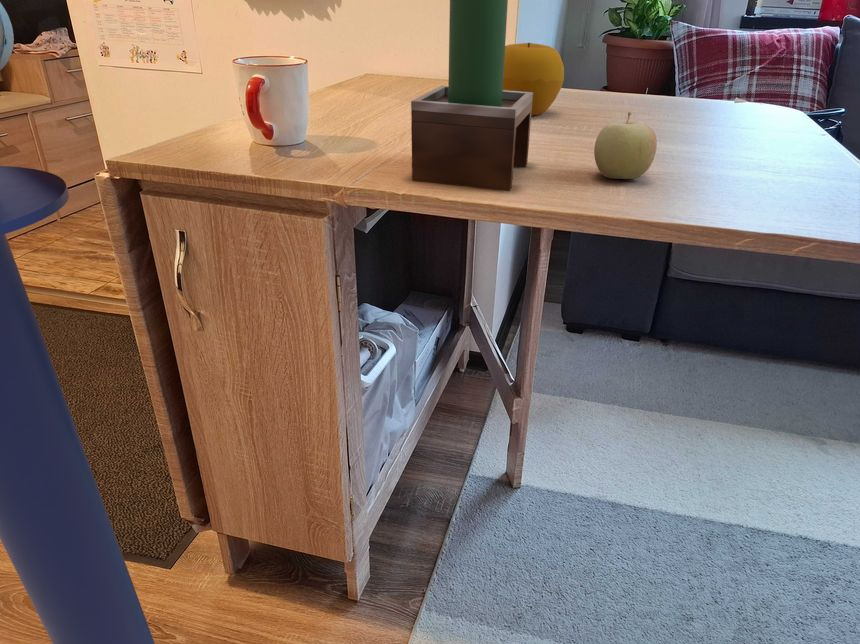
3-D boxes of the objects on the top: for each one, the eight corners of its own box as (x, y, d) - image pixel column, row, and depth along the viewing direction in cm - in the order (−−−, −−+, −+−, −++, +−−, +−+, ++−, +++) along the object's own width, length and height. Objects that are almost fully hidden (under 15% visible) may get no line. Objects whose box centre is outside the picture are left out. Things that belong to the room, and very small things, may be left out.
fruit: (646, 189, 75) (659, 119, 71) (585, 181, 78) (594, 113, 74) (654, 173, 82) (666, 108, 77) (597, 166, 84) (606, 102, 80)
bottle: (437, 104, 75) (438, -74, 66) (472, 98, 79) (478, -70, 70) (477, 112, 71) (484, -75, 62) (512, 106, 76) (524, -70, 66)
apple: (485, 117, 109) (488, 44, 103) (492, 103, 120) (496, 37, 114) (560, 121, 108) (567, 48, 102) (560, 107, 119) (567, 40, 113)
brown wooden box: (411, 180, 76) (410, 100, 71) (440, 156, 86) (440, 85, 81) (510, 190, 73) (515, 109, 69) (527, 164, 83) (533, 92, 79)
